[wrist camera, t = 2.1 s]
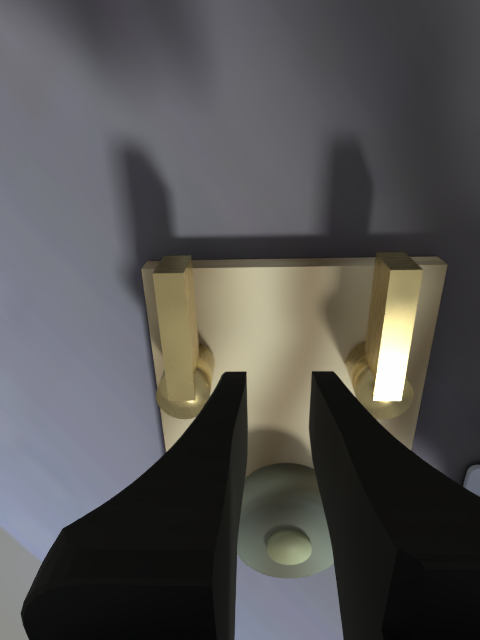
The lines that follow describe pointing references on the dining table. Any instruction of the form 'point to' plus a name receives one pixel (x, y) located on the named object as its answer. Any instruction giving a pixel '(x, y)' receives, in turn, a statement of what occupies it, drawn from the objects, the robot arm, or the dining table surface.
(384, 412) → the knob
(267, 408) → the base
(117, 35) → the dining table surface
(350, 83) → the dining table surface
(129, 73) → the dining table surface
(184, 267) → the knob
